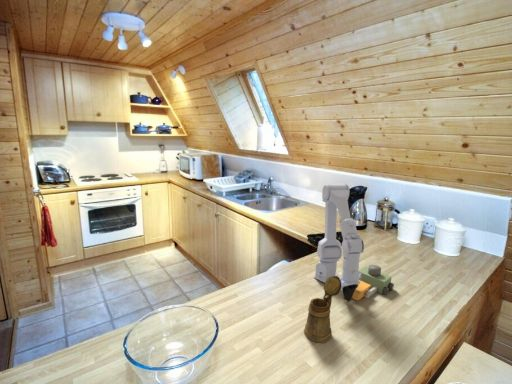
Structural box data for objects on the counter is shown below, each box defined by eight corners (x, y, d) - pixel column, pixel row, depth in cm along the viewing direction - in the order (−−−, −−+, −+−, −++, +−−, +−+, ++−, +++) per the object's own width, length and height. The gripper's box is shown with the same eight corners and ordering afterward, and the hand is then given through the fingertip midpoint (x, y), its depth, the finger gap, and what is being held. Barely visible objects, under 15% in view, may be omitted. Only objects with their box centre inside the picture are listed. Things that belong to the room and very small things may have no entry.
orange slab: (359, 301, 114) (360, 291, 113) (346, 295, 119) (347, 285, 118) (369, 294, 120) (370, 285, 119) (356, 288, 124) (357, 279, 123)
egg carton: (302, 240, 178) (303, 234, 178) (339, 233, 192) (339, 227, 192) (322, 251, 163) (322, 245, 162) (360, 242, 177) (360, 236, 177)
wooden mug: (345, 329, 99) (349, 280, 95) (319, 347, 91) (323, 295, 87) (323, 316, 106) (327, 270, 102) (298, 331, 97) (301, 282, 93)
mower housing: (376, 302, 115) (378, 282, 113) (343, 287, 125) (345, 269, 123) (393, 288, 125) (395, 270, 123) (362, 276, 135) (364, 259, 133)
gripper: (349, 278, 103) (346, 312, 106) (369, 266, 112) (366, 297, 115) (332, 270, 108) (330, 303, 111) (353, 259, 118) (350, 290, 121)
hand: (347, 299), depth 114 cm, fingers closed
